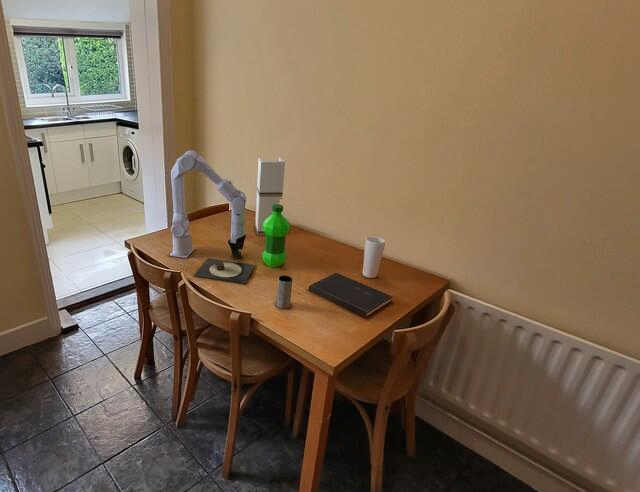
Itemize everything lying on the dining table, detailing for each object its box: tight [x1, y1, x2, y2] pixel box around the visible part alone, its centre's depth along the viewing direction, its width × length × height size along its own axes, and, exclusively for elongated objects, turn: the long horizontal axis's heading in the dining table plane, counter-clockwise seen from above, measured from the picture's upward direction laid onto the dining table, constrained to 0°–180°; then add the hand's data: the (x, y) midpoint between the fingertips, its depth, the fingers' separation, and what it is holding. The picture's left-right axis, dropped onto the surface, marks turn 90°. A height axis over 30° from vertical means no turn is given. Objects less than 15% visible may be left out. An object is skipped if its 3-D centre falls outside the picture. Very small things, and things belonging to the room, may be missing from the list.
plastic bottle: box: [261, 204, 291, 268], centre depth 163 cm, size 10×10×25 cm
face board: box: [194, 258, 256, 285], centre depth 163 cm, size 16×20×1 cm
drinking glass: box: [362, 236, 386, 279], centre depth 156 cm, size 7×7×15 cm
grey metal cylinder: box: [276, 275, 293, 309], centre depth 137 cm, size 4×4×10 cm
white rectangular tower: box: [254, 156, 286, 236], centre depth 194 cm, size 11×11×35 cm
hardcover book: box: [308, 272, 394, 319], centre depth 144 cm, size 16×23×2 cm
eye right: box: [232, 251, 243, 260], centre depth 174 cm, size 4×4×2 cm
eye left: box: [215, 262, 224, 271], centre depth 163 cm, size 4×4×2 cm
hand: (237, 252), depth 173 cm, fingers open, 7 cm apart
